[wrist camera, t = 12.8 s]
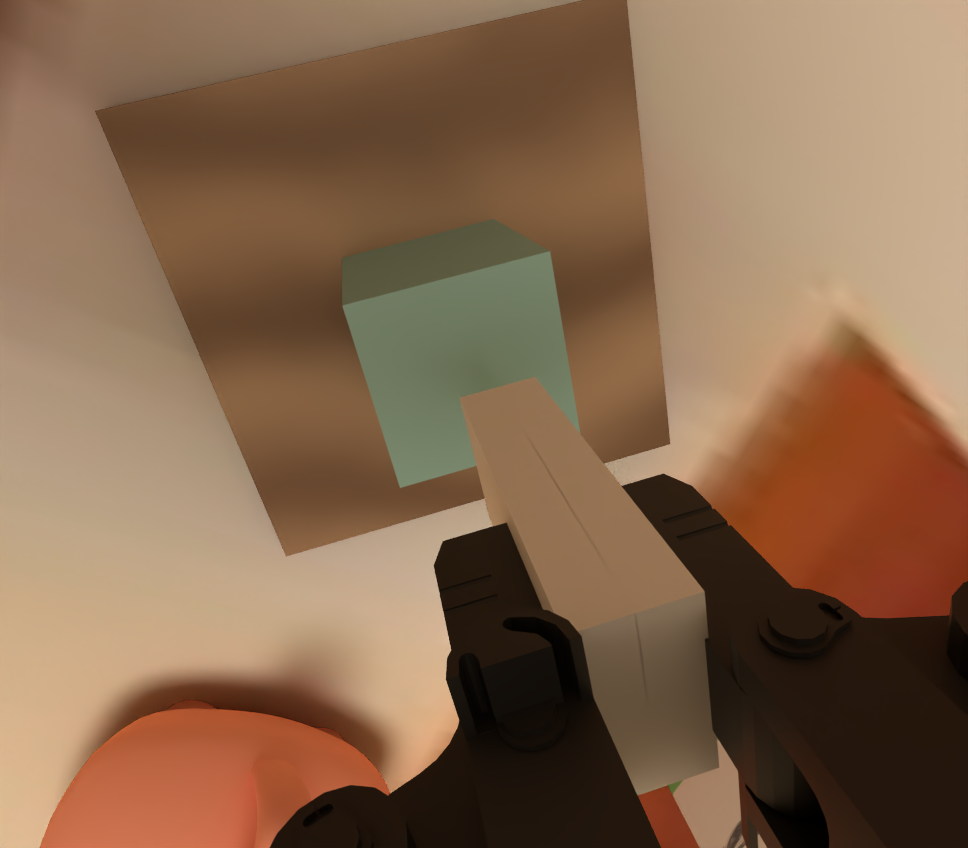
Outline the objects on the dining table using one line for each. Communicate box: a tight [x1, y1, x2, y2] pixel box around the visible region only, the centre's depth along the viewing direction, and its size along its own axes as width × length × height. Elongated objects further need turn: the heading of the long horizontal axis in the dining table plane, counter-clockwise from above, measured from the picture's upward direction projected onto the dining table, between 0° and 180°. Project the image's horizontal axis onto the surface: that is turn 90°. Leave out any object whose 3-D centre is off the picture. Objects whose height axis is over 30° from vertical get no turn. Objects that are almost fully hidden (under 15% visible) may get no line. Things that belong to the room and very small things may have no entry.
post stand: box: [95, 0, 670, 556], centre depth 21 cm, size 16×16×6 cm
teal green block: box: [342, 219, 580, 488], centre depth 20 cm, size 5×5×7 cm
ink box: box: [668, 738, 767, 848], centre depth 31 cm, size 9×5×12 cm, turn 58°
